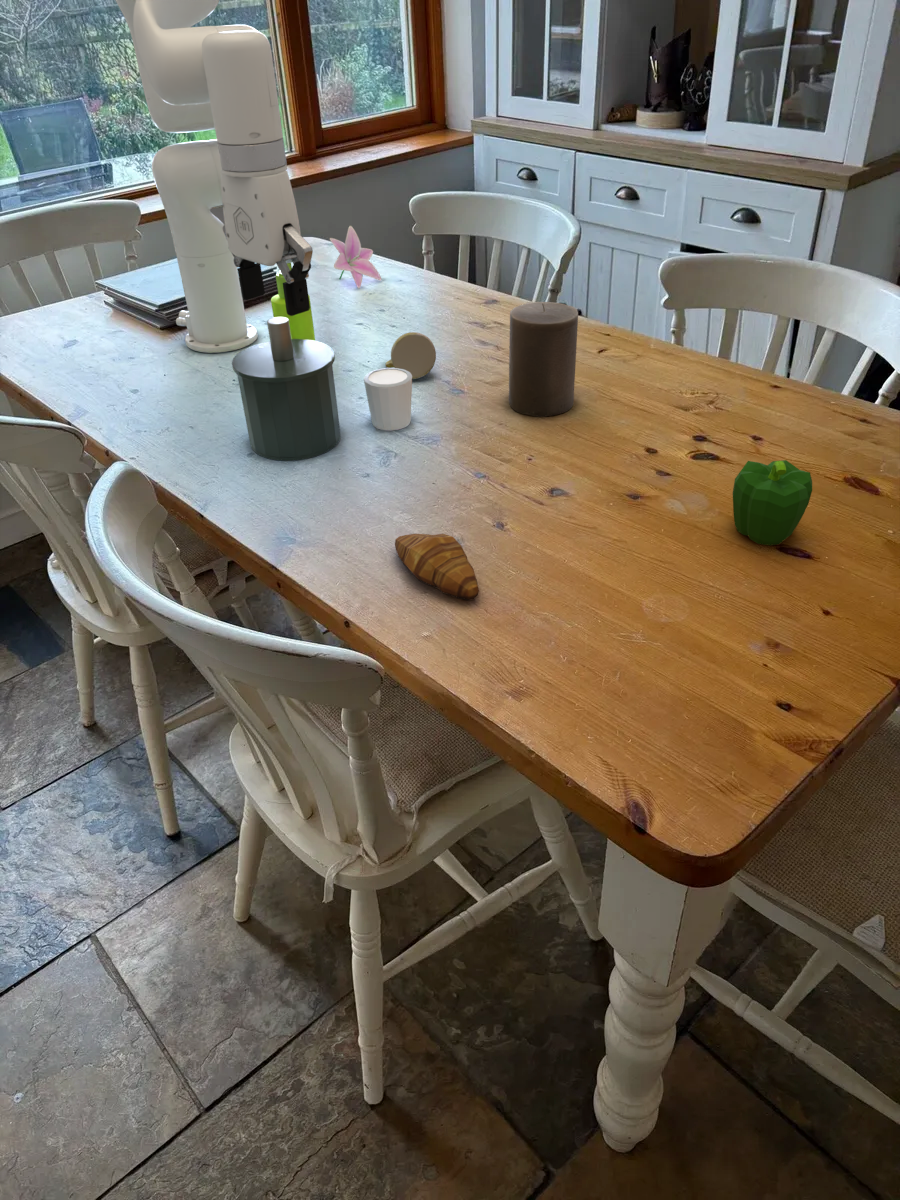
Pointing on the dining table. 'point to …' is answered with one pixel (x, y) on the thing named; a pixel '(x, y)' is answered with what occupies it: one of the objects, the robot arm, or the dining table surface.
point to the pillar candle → (542, 358)
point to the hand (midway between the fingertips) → (275, 304)
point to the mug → (413, 354)
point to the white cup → (389, 398)
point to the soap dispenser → (298, 323)
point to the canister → (291, 416)
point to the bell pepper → (770, 500)
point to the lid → (282, 356)
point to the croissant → (439, 563)
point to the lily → (354, 258)
